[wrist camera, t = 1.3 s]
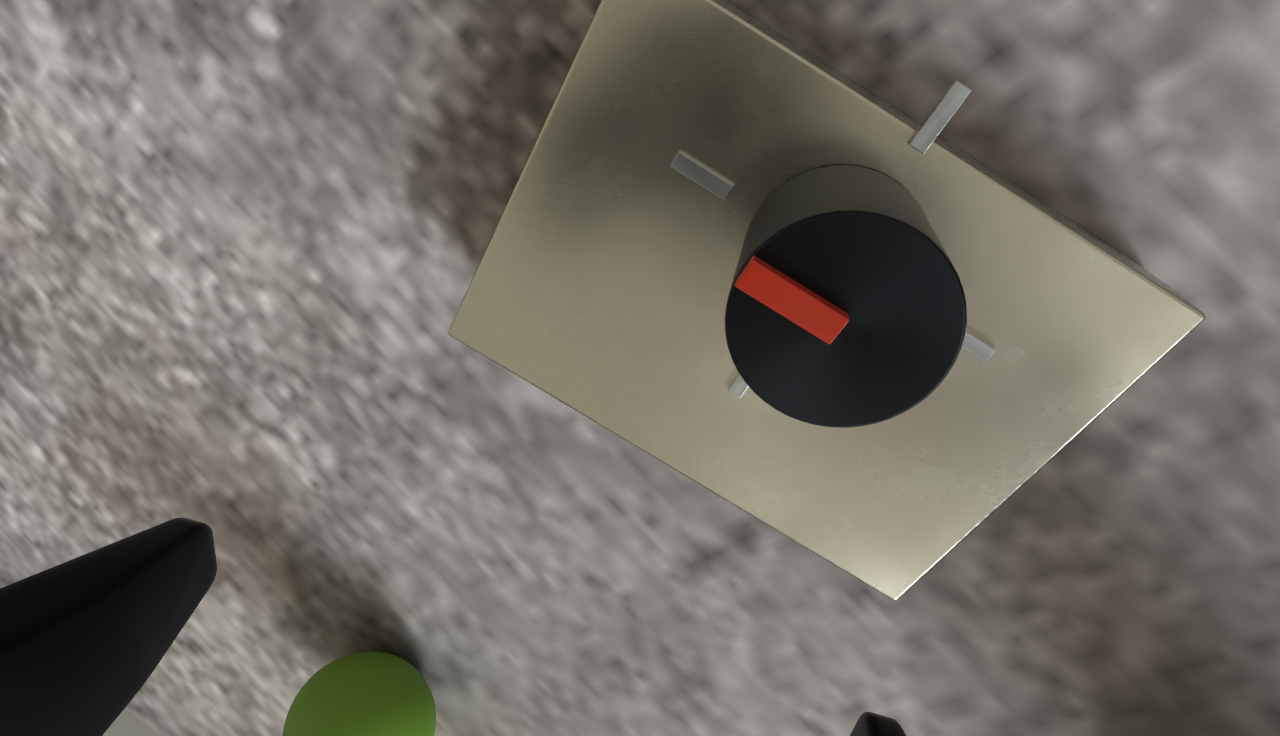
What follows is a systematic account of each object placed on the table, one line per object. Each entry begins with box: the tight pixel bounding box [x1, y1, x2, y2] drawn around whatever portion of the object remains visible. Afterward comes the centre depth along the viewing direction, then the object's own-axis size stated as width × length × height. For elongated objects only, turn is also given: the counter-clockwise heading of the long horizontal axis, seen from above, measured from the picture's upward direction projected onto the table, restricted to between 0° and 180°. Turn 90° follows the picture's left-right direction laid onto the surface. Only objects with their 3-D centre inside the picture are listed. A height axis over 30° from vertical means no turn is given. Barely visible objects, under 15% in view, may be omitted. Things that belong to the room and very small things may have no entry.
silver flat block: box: [448, 0, 1205, 600], centre depth 18 cm, size 14×11×3 cm
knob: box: [725, 165, 967, 428], centre depth 14 cm, size 4×4×4 cm
